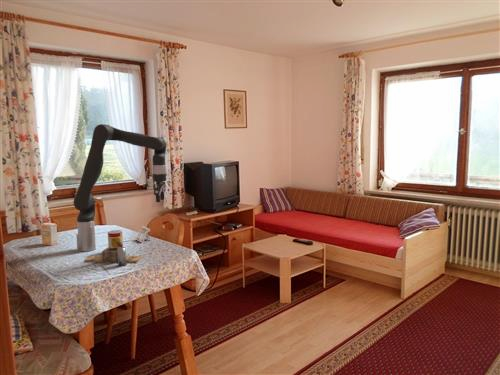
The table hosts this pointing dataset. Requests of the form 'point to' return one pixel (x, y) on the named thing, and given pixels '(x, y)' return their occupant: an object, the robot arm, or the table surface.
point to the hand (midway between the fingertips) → (160, 201)
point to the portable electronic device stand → (144, 234)
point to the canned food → (115, 238)
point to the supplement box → (49, 234)
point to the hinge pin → (121, 256)
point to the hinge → (111, 257)
